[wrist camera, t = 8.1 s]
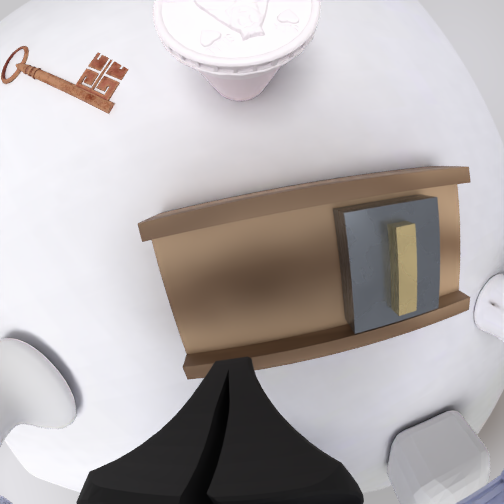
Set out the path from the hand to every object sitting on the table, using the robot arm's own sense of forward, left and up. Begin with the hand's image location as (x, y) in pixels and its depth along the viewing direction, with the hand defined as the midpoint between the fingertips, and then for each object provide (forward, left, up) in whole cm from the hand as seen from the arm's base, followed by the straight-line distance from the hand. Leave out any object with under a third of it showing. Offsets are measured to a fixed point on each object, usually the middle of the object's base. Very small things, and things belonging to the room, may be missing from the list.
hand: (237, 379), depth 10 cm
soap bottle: (-25, -17, -11) cm, 32 cm away
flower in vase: (-7, +24, -11) cm, 27 cm away
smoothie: (+14, -3, -11) cm, 18 cm away
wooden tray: (+1, -6, -10) cm, 12 cm away
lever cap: (+1, -9, -7) cm, 12 cm away
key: (+20, +11, -11) cm, 25 cm away
